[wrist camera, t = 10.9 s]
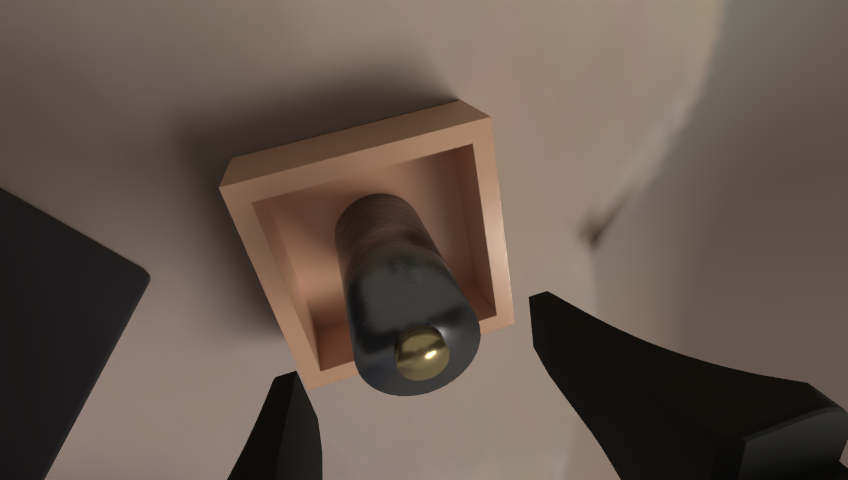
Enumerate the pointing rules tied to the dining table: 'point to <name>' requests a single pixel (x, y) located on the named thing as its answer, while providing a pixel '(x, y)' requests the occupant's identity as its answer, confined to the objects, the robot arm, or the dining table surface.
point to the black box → (53, 330)
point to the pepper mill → (401, 300)
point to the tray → (351, 180)
